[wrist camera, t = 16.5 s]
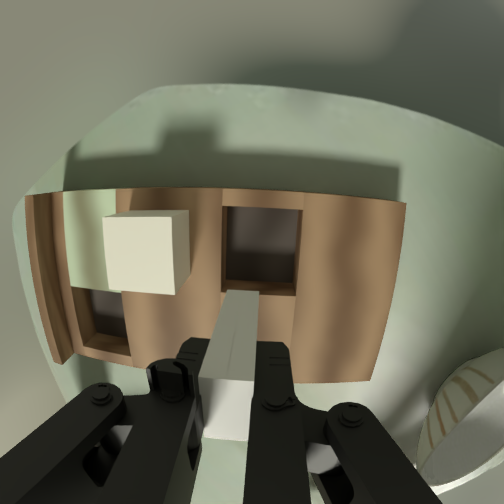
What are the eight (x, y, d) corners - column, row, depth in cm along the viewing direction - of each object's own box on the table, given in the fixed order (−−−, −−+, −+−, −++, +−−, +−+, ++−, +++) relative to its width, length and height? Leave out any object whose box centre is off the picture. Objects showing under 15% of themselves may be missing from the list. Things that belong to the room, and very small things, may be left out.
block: (189, 209, 25) (171, 216, 20) (190, 274, 26) (175, 295, 21) (129, 210, 25) (102, 217, 20) (132, 271, 26) (109, 289, 22)
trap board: (389, 200, 28) (421, 206, 21) (361, 361, 32) (377, 396, 26) (62, 191, 29) (24, 195, 22) (80, 336, 34) (53, 361, 27)
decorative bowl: (398, 352, 32) (438, 412, 20) (524, 294, 29) (570, 322, 18) (389, 457, 38) (405, 504, 26) (496, 404, 35) (522, 437, 24)
